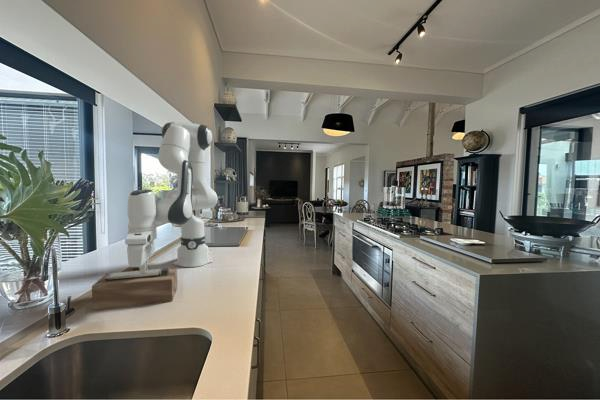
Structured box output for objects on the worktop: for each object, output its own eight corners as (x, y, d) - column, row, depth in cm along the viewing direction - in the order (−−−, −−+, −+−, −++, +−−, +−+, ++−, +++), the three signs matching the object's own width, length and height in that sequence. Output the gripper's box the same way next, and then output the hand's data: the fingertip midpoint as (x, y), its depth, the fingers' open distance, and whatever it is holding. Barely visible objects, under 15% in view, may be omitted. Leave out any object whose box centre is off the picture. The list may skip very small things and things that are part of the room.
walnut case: (107, 294, 99) (106, 268, 99) (177, 288, 106) (176, 263, 105) (92, 309, 88) (91, 280, 87) (172, 301, 95) (171, 273, 94)
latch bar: (109, 276, 96) (109, 272, 96) (161, 271, 100) (160, 268, 100) (104, 280, 91) (104, 276, 91) (158, 275, 96) (158, 271, 96)
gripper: (140, 230, 105) (141, 264, 105) (123, 240, 85) (124, 282, 86) (158, 229, 106) (159, 263, 107) (145, 239, 87) (146, 281, 88)
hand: (143, 272), depth 96 cm, fingers closed, pressing on latch bar
